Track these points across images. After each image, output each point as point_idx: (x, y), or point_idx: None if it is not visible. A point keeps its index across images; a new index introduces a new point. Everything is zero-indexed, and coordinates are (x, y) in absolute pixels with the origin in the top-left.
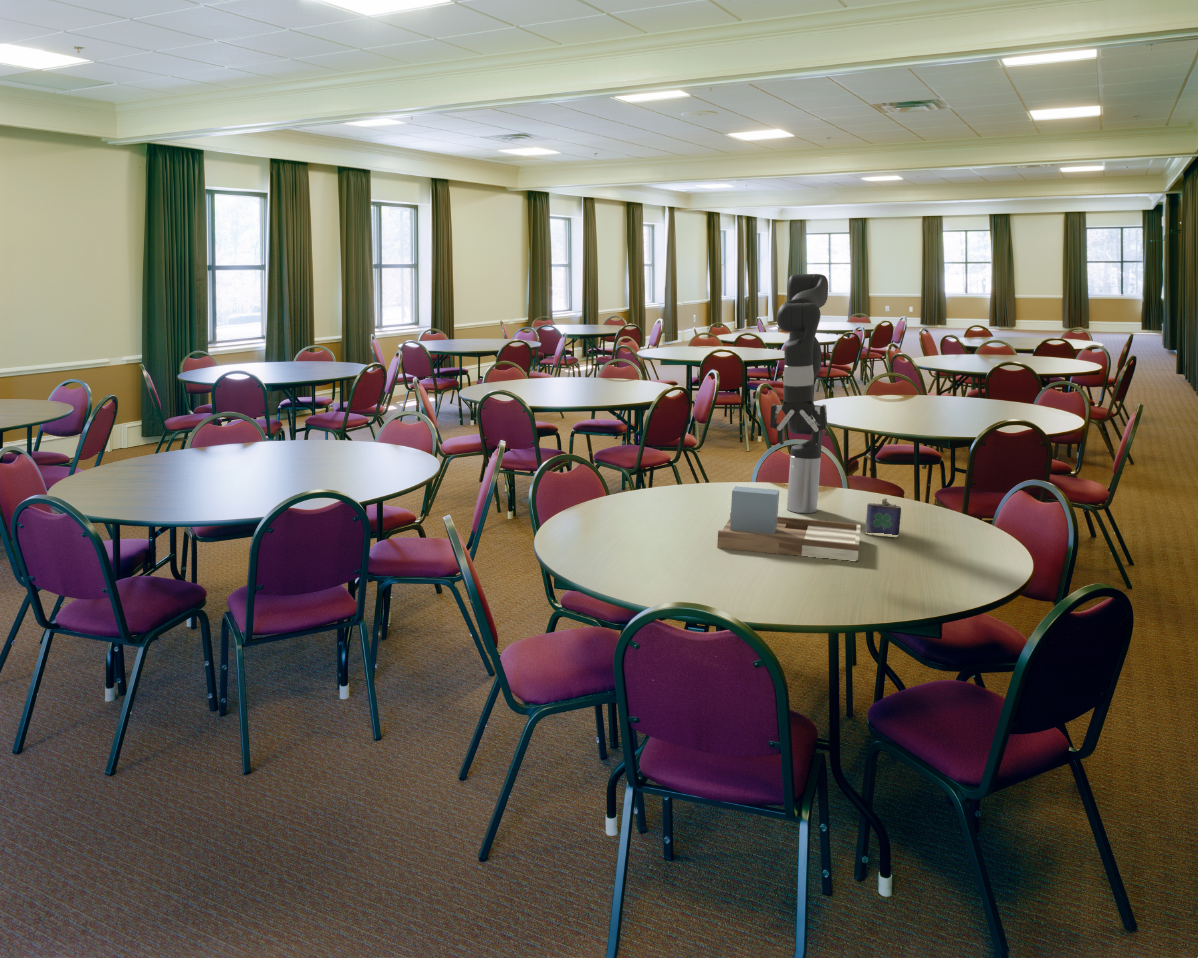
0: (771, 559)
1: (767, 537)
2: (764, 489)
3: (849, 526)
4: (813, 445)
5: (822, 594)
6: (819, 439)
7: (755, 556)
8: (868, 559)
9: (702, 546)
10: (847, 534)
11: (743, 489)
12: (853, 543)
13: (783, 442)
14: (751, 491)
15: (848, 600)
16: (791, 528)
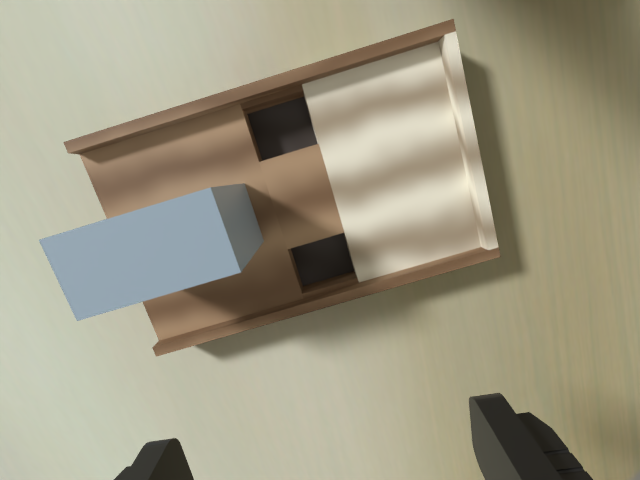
0: (311, 341)
1: (277, 319)
2: (159, 219)
3: (420, 44)
4: (476, 449)
5: (467, 469)
6: (561, 453)
7: (274, 342)
8: (494, 208)
9: (143, 346)
10: (428, 112)
11: (96, 272)
12: (466, 195)
13: (178, 469)
14: (138, 284)
15: None
16: (258, 106)
